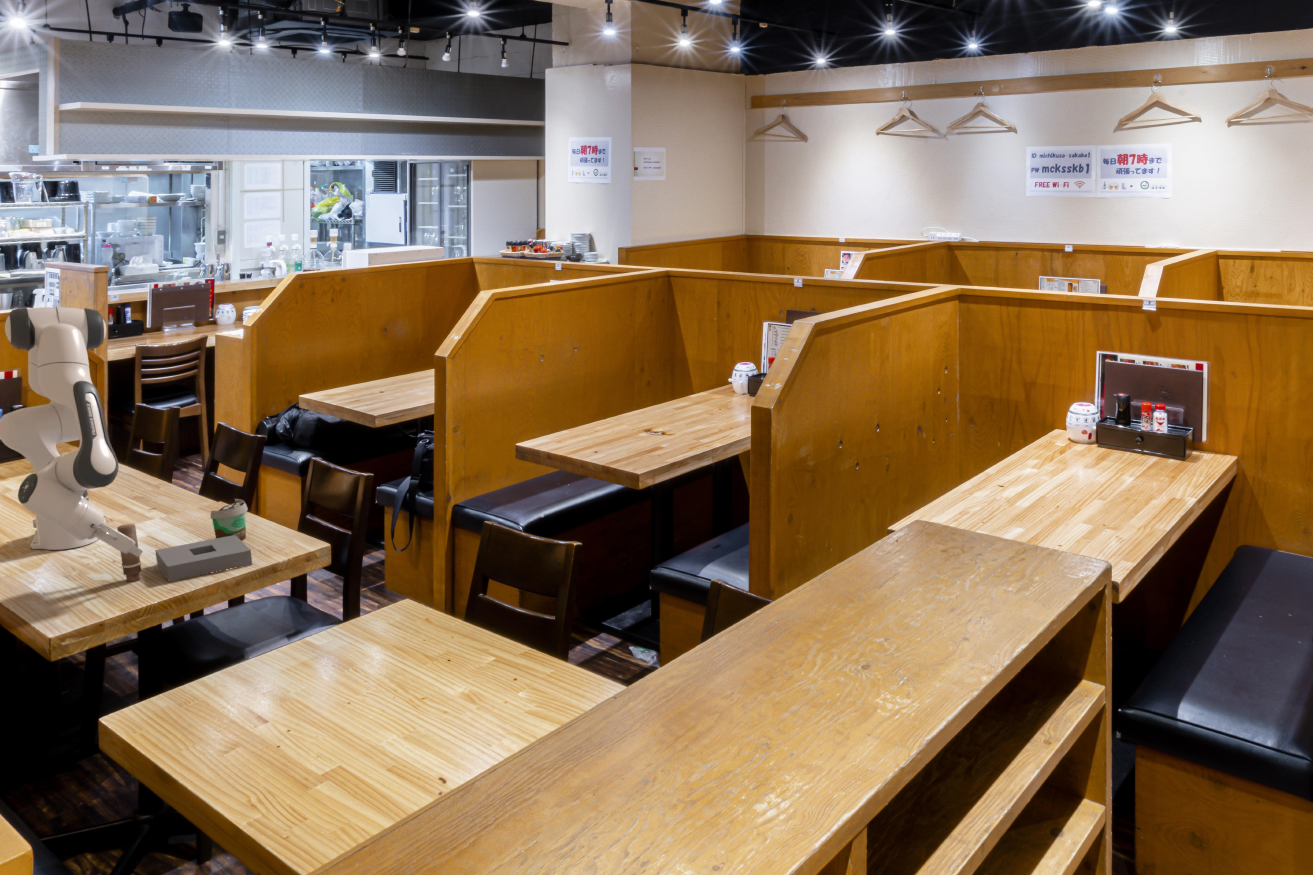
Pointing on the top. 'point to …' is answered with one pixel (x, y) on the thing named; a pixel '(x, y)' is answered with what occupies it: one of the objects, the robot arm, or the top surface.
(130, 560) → the peg
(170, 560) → the board
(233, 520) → the food container
